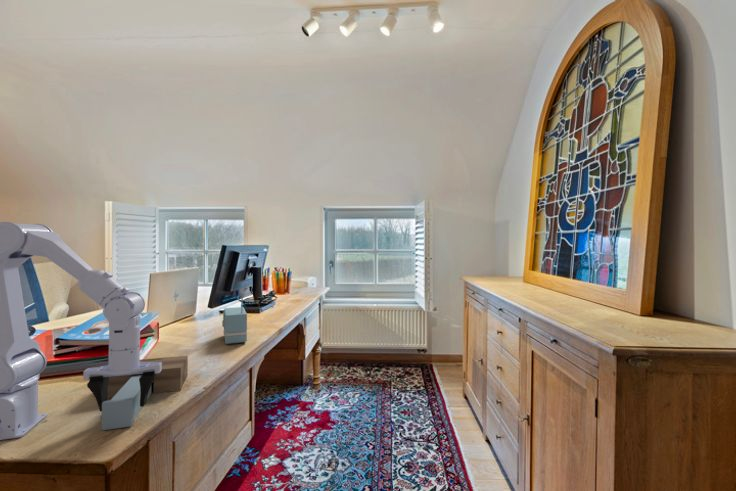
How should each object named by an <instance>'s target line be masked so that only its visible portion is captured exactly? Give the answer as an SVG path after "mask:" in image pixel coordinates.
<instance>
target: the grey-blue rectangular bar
mask: <svg viewBox="0 0 736 491" xmlns="http://www.w3.org/2000/svg"><path fill="white" fill-rule="evenodd" d="M141 376H142V375H140V376H132V377H131V378H130V379H129V380H128V381H127V383H126V384H125V385H124V386H123V387H122V388H121V389H120V390H119V391H118V392H117V394H116V395H115V396H114V397H113V398H110V400H109V399H108V401H104V402H103V403H102V411H101V431H108V430H115V429H116V430H117V429H121V428H128V427H132V426H133V425H134V420H135V418H136V417H137V415H138V414H139V413H140V411H141V410H142V408H143V407H140V395H141V392H140V382H139V378H140V377H141ZM151 395H152V386H151V387H150V389H149V392H148V396H147V400H148V399H149V398H150V396H151Z"/></svg>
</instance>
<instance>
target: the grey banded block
mask: <svg viewBox="0 0 736 491" xmlns="http://www.w3.org/2000/svg"><path fill="white" fill-rule="evenodd" d="M243 298H244V297H243V293H241V306H239V307H238V306H237V307H236V306H235V307H225V308H223V309H224V310H223V311H222V313H223V314H222V321H221V323H222V324H221V325H222V327H223V336H224V343H225V344H226V345H235V344H242V343H243V344H245V343H247V341H248V335H247V334H248V313H247V312H246V309H245V308H244V306H243V304H244V302H243Z"/></svg>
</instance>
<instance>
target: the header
mask: <svg viewBox="0 0 736 491" xmlns="http://www.w3.org/2000/svg"><path fill="white" fill-rule="evenodd" d="M139 362H162V370H161V372H160V373H157V374H156V376H155V378H154V380H153V382H152V383H153V393H152V394H160V393H167V392H169V393H170V392H176V391H182V388H183V386H184V384H185V382H186V380H187V379H188V371H189V370H188V368H189V367H188V365H189V364H188V355H181V356H180V355H178V356H168V357H159V358H158V357H157V358H156V357H155V358H143V359H140V361H139ZM140 375H143V374H133V375H122V376H111V377H109V382H108V390H107V395H108V399H112V398H113V397H114V396H115V395H116V394H117V392H118V391H119V390H120V389H121V388H122V387H123V386H124V385H125V384H126V383H127V381H128V380H129V379H130V378H131V377H132V376H140Z"/></svg>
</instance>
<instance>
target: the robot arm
mask: <svg viewBox="0 0 736 491" xmlns="http://www.w3.org/2000/svg"><path fill="white" fill-rule="evenodd" d="M34 256H35V257H36V256H37V257H44V258H46V259H48V260H49V261H50V262H52V263H53V264H55V265H57V267H59V268H61V270H64V271H65V272H66V273H68V274H69V275H71V277H73V278H75V279H76V280H77V281H78V285H77V287H78V289H79V290H80V291H81V292H83V294H84V295H86V296H87V297H88V298H90V299H91V300H92V301H93V302H94V303H96V304H97V305H98V306H100V308H103V309H102V312H103V313H102V314H103V316H104V318H105V319H106V320H107V322H108V364H107V365H102V366H101V365H100V366H96V367H88V368H86V369H85V370H84V371H83V376H82V378H83V379H82V380H83V381H88V382H87V384H86V386H87V388H88V390H89V391H90V392H91V393H92V394H93V396H94V398H95V400H96V402H97V405H98V409H99V412H102V403H103V402H104V401H109V398H108V395H107V390H108V382H109V377H111V376H122V375H133V374H143V375H142V376H141V377H140V378H139V382H140V392H141V395H140V407H142V408H144V407H145V405H147V400H148V399H147V396H148V392H149V389H150V387H151V388H152V383H154V382H153V380H154V378H155V376H156V374H157V373H160V372H161V370H162V362H139V361H140V360H141V359H140V350H141V349H140V346H141V314H142V312H143V311H144V310H145V308H146V303H145V299H144V298H143V296H142V295H141V294H140V293H139V292H137V291H136V292H135V291H130V288H128V287H127V286H126V287H124V286H123V285H122V284H121V283H119V282H118V281H117V280H116V279H115V278H114V273H111V271H105V270H103V269H93V268H92V267H91V266H90V265H89V264H88V263H87V262H85V260H84V259H82V257H80V255H79V254H77V253H76V252H75V251H74V250H73V249H71V247H70V246H69V245H67V243H65V241H63V240H62V237H61V235H60V234H59V233H57V232H55V231H53V230H52V228H51V227H50V226H48V225H45V224H44V223H43V224H42V223H19V222H12V221H2V222H1V221H0V441H4V440H9V439H10V440H11V439H19V438H21V437H23V436H25V435H26V434H27V433H28V432H29V431H31V430H32V429H33V428H34V427H35V426H37V425H38V423H40V422H41V421H42V420H44V419H45V418H46V417H48V413H47V412H44V413H39V379H40V374H41V373H42V372H43V371H45V369H46V367H47V363H48V359H47V356H46V355H45V353H44V352H43V351H42V350H41V348H40V347H41V346H40V343H39V342H38V341H37V340H34V339H33V338H31V337H30V333H29V327H28V320H27V315H26V308H25V303H24V296H23V289H22V283H21V282H22V281H21V277H20V271H19V267H21V266H22V265H23V264H24V263H25V262H27V260H29V259H30V258H32V257H34Z"/></svg>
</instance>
